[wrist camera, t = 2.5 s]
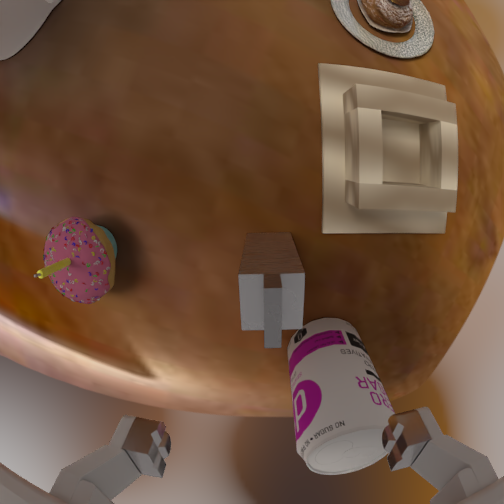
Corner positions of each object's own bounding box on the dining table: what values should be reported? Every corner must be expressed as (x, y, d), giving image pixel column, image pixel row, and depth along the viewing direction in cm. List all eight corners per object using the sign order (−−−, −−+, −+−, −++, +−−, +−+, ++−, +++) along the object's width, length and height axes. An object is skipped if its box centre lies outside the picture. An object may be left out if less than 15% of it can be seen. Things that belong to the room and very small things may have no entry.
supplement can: (278, 365, 31) (283, 476, 17) (300, 307, 29) (326, 421, 15) (340, 375, 32) (368, 475, 18) (368, 320, 29) (422, 421, 15)
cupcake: (88, 193, 26) (7, 217, 14) (147, 240, 27) (83, 292, 16) (62, 253, 28) (-7, 296, 17) (114, 298, 30) (57, 360, 18)
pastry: (421, -6, 17) (438, -21, 13) (434, 74, 21) (457, 64, 16) (325, -34, 17) (333, -56, 13) (330, 47, 21) (342, 28, 17)
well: (317, 65, 21) (328, 47, 17) (442, 86, 21) (466, 79, 16) (321, 231, 26) (332, 246, 22) (441, 231, 26) (465, 244, 21)
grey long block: (247, 233, 27) (235, 288, 15) (290, 232, 27) (309, 287, 15) (248, 273, 28) (239, 348, 17) (289, 272, 28) (305, 346, 16)
